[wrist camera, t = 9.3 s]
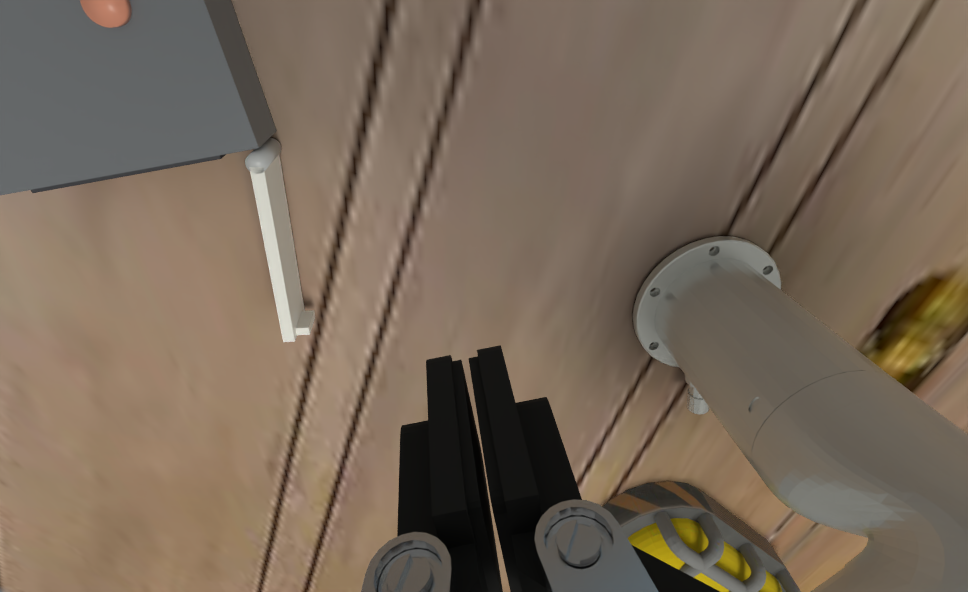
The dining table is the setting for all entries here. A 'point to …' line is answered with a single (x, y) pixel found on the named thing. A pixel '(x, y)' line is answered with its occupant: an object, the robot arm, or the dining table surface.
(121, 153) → the gray button box
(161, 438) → the dining table surface
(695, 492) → the cage light
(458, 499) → the robot arm
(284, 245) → the light grey flat bar
